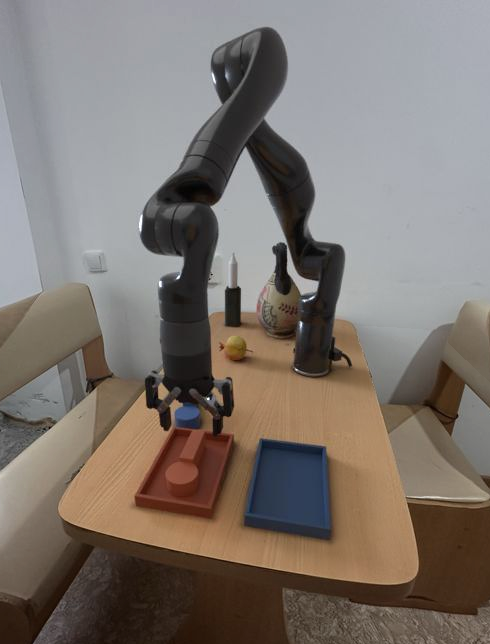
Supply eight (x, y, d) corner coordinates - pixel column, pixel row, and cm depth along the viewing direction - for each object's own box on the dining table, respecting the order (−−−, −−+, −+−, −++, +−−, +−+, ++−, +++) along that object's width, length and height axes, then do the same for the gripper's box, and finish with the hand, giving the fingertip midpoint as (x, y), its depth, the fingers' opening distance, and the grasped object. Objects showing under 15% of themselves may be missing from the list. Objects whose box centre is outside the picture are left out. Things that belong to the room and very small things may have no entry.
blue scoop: (182, 397, 87) (181, 383, 86) (204, 397, 87) (203, 384, 86) (173, 431, 76) (172, 416, 74) (198, 431, 75) (198, 416, 74)
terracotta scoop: (186, 443, 71) (185, 428, 70) (213, 447, 70) (212, 431, 69) (162, 494, 60) (160, 477, 58) (193, 499, 59) (192, 482, 57)
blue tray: (259, 446, 71) (259, 437, 70) (325, 455, 69) (326, 446, 68) (244, 525, 55) (244, 515, 54) (329, 540, 53) (331, 529, 52)
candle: (238, 327, 129) (239, 254, 119) (224, 326, 130) (223, 253, 120) (241, 322, 134) (242, 251, 123) (227, 321, 135) (227, 250, 124)
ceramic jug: (254, 325, 131) (257, 237, 119) (298, 325, 131) (305, 237, 118) (256, 344, 116) (259, 245, 103) (306, 345, 115) (315, 245, 103)
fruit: (256, 336, 106) (222, 332, 109) (251, 339, 100) (215, 335, 102) (253, 359, 108) (220, 355, 110) (248, 364, 101) (213, 359, 104)
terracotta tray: (173, 435, 74) (173, 426, 74) (233, 442, 72) (233, 434, 71) (135, 506, 58) (134, 495, 57) (211, 519, 56) (211, 508, 55)
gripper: (237, 336, 58) (237, 422, 65) (151, 331, 61) (159, 414, 67) (227, 357, 51) (228, 450, 58) (131, 350, 54) (143, 440, 61)
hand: (191, 431), depth 63 cm, fingers open, 8 cm apart
